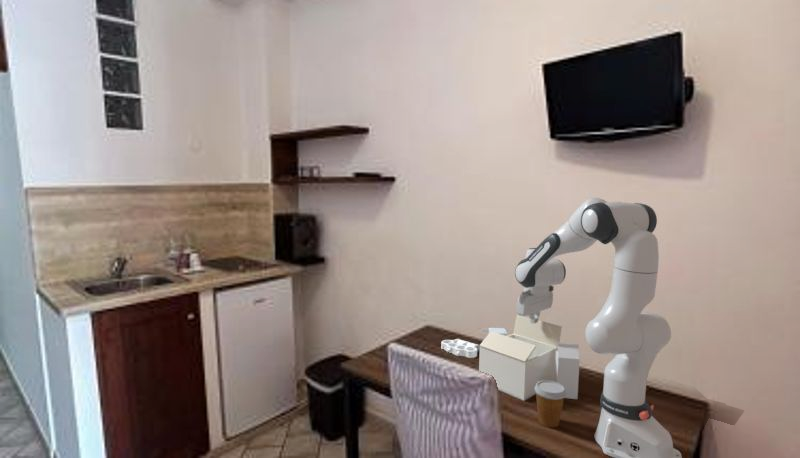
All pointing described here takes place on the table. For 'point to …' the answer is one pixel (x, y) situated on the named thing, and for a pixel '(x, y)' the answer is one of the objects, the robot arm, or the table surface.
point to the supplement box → (498, 331)
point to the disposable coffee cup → (549, 402)
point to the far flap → (537, 330)
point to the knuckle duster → (460, 347)
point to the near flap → (508, 346)
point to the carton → (519, 368)
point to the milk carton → (567, 368)
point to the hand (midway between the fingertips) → (534, 322)
